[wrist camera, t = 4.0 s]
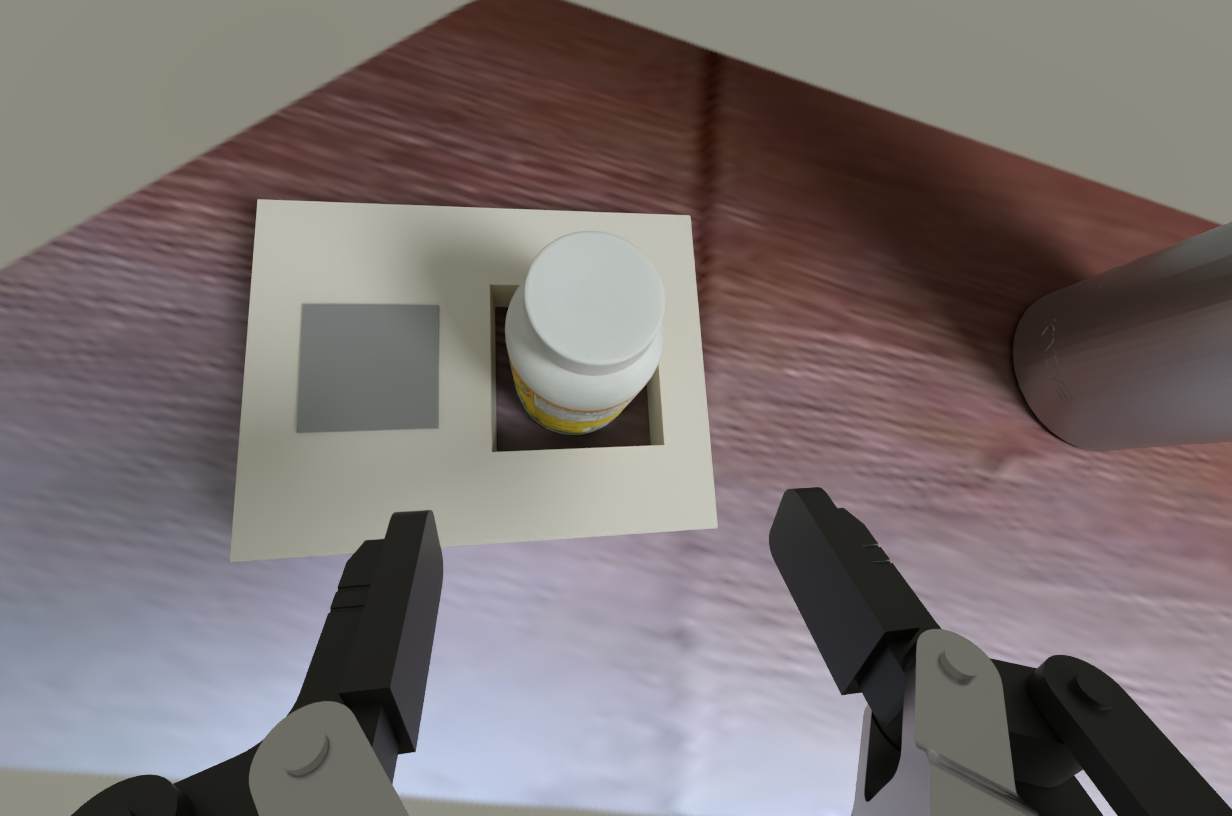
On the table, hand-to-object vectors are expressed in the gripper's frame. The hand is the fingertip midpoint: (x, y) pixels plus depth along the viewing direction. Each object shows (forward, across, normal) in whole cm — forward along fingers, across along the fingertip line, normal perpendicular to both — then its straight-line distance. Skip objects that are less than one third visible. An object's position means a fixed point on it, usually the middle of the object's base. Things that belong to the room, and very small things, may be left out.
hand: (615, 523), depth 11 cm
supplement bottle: (+12, 0, +4) cm, 13 cm away
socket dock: (+12, +4, +3) cm, 13 cm away
